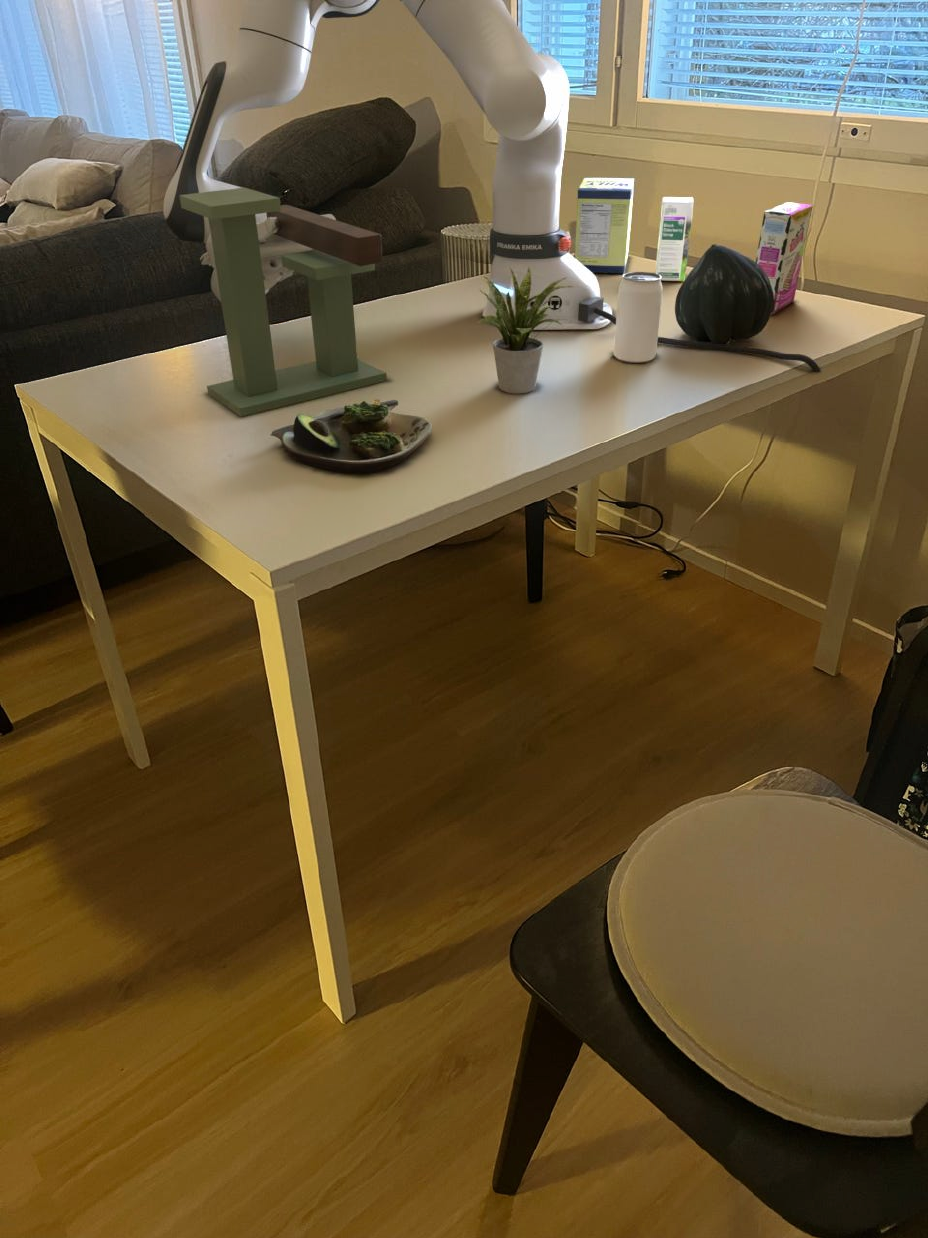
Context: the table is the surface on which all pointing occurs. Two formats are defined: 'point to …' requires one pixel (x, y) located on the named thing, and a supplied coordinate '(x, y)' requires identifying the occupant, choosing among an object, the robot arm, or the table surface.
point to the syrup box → (674, 238)
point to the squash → (724, 298)
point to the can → (638, 317)
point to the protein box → (604, 223)
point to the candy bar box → (783, 249)
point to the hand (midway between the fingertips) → (291, 219)
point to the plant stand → (249, 315)
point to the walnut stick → (329, 236)
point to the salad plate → (354, 437)
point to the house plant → (518, 334)
